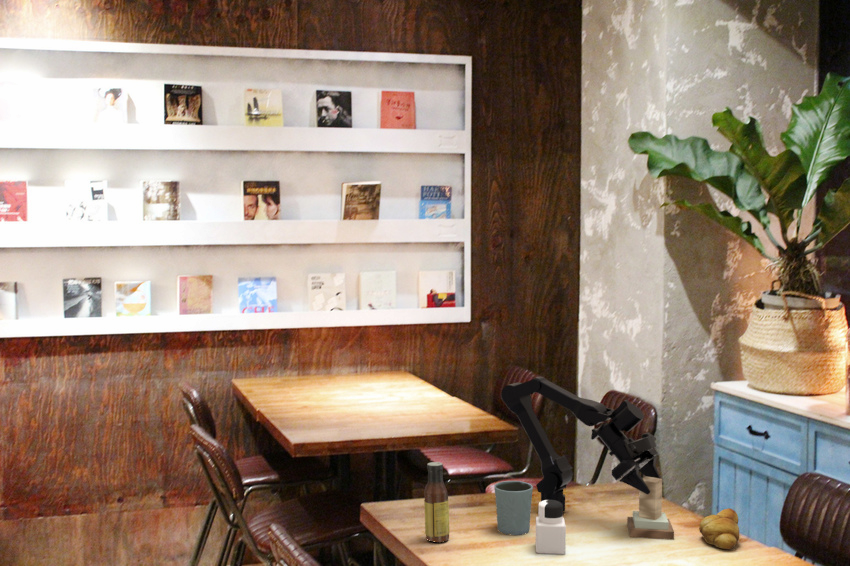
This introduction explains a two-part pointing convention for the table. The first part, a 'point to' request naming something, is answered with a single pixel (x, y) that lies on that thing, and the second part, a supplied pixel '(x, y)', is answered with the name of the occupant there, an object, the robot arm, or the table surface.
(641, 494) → the oak block
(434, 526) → the sauce bottle
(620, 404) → the robot arm
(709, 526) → the bread roll
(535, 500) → the table surface
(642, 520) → the sage slab
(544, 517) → the medicine bottle
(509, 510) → the teal cup
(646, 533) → the walnut base slab
